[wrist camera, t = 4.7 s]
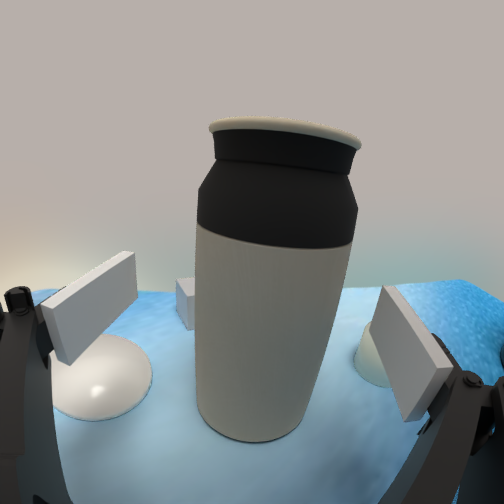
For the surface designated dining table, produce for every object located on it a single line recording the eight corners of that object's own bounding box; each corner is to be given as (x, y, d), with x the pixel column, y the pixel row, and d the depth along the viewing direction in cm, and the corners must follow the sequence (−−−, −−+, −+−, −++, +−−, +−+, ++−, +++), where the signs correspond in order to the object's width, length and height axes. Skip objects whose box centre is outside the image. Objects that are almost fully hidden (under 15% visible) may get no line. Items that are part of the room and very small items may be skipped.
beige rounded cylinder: (368, 340, 27) (378, 312, 26) (418, 363, 23) (432, 334, 22) (341, 369, 22) (352, 337, 21) (400, 398, 18) (417, 367, 17)
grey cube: (209, 306, 31) (210, 275, 30) (224, 324, 28) (226, 290, 27) (176, 311, 29) (175, 279, 28) (187, 331, 26) (187, 296, 25)
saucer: (124, 328, 25) (123, 324, 24) (175, 393, 18) (174, 387, 18) (34, 353, 18) (33, 348, 18) (57, 436, 11) (53, 431, 11)
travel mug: (295, 455, 14) (381, 130, 8) (178, 423, 15) (172, 114, 10) (309, 379, 21) (357, 148, 15) (219, 358, 23) (235, 134, 17)
